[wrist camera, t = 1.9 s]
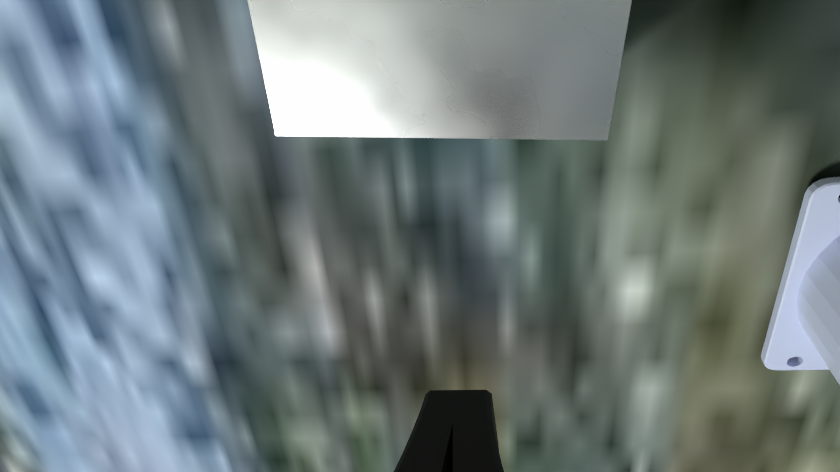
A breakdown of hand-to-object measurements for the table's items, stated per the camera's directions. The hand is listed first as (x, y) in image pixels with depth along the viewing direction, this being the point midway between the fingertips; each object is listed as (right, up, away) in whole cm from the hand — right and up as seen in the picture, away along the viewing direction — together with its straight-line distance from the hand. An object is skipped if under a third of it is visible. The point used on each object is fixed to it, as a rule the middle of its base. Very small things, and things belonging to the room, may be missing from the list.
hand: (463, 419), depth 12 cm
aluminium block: (0, +11, +3) cm, 11 cm away
